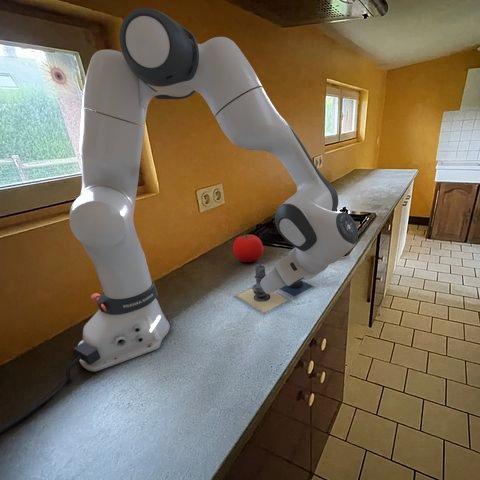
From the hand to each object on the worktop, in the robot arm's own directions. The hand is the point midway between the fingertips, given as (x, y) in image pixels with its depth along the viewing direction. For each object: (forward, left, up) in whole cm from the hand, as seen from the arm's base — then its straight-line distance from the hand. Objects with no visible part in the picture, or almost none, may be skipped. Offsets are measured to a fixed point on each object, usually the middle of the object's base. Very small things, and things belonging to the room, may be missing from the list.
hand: (279, 282), depth 86 cm
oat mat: (-1, +8, -9) cm, 12 cm away
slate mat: (+11, +8, -9) cm, 16 cm away
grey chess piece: (-1, +8, -8) cm, 12 cm away
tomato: (+14, +34, -9) cm, 38 cm away
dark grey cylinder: (+12, +6, -8) cm, 16 cm away
